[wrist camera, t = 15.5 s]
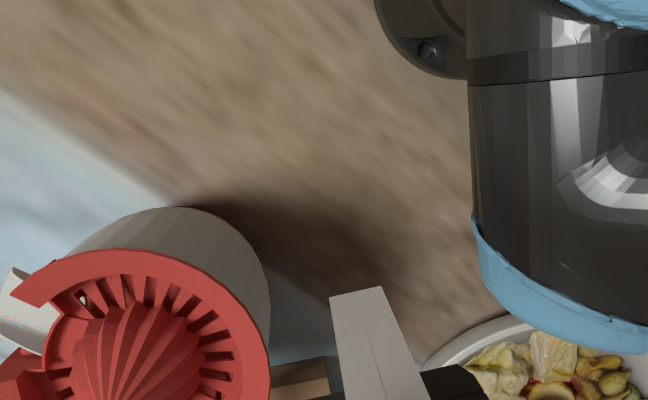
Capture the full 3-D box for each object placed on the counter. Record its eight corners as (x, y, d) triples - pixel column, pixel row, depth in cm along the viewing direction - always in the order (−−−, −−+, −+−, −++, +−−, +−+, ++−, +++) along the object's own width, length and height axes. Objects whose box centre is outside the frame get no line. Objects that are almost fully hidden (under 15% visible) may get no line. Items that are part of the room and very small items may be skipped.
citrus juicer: (107, 149, 41) (-54, 205, 22) (304, 225, 44) (317, 336, 24) (52, 314, 44) (-136, 496, 24) (239, 376, 46) (205, 585, 27)
